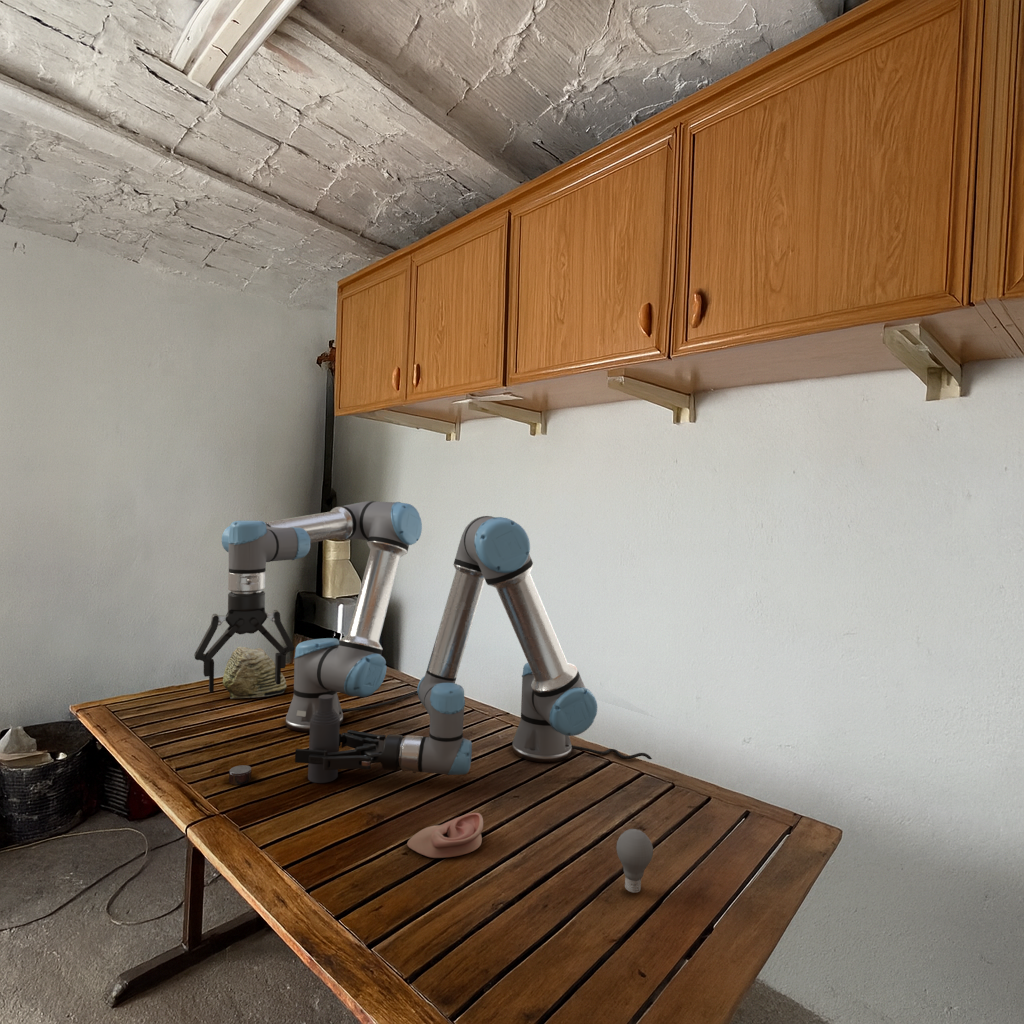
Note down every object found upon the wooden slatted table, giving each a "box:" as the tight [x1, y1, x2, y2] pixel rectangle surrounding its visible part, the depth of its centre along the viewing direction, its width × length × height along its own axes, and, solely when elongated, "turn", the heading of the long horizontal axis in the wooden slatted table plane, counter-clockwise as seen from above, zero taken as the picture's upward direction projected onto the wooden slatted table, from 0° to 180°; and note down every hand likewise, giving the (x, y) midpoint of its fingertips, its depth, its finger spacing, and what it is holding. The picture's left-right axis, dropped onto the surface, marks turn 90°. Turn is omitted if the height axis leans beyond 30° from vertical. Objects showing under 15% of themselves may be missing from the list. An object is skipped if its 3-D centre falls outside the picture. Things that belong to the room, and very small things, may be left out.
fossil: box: [222, 646, 288, 699], centre depth 198 cm, size 9×18×15 cm, turn 132°
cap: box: [228, 764, 252, 786], centre depth 140 cm, size 4×4×2 cm
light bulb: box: [615, 828, 654, 894], centre depth 106 cm, size 6×6×10 cm
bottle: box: [307, 695, 341, 784], centre depth 143 cm, size 6×6×18 cm
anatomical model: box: [406, 812, 484, 859], centre depth 118 cm, size 13×4×12 cm
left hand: (245, 686), depth 140 cm, fingers open, 13 cm apart
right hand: (304, 746), depth 143 cm, fingers open, 9 cm apart
